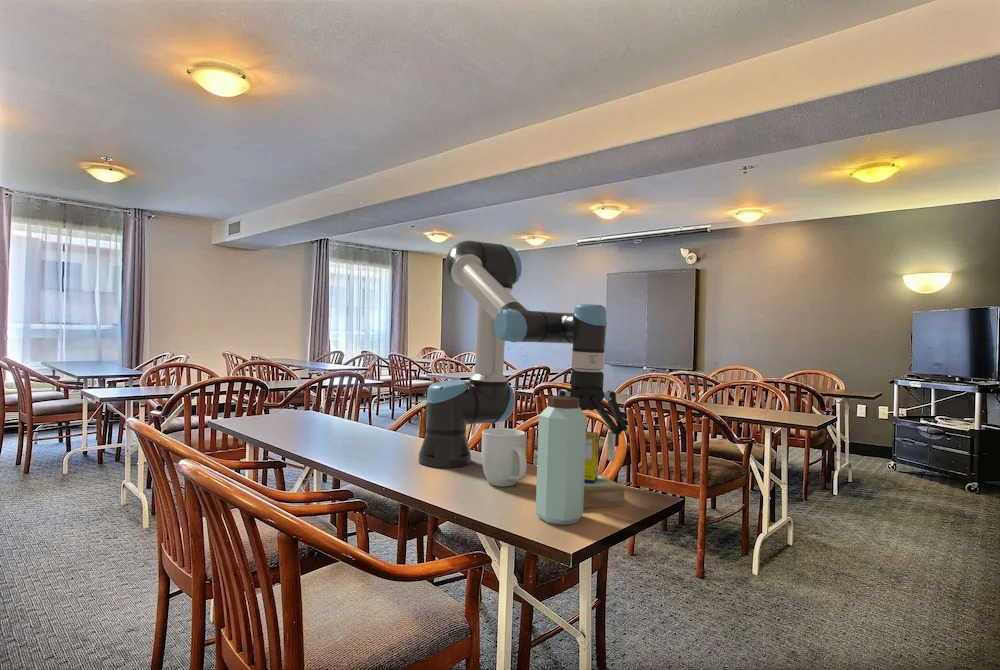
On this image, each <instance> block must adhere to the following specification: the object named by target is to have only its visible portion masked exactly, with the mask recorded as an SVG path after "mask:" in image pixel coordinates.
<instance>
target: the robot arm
mask: <svg viewBox="0 0 1000 670" xmlns="http://www.w3.org/2000/svg"><path fill="white" fill-rule="evenodd" d="M522 267H523V266H522V260H521V257H520V255H519V253H518V252H517V250H516V249H515V248H514V247H512V246H508V245H504V244H502V243H501V244H499V243H492V242H491V243H490V242H484V241H482V242H481V241H476V240H463V241H461V242H460V241H459V242H458V243H457V244H455V245H453V247H451V248H450V250H449V251H448V253H447V254H446V258H445V269H446V273H447V274H448V276H449V277H450V279H451V280H452V281H453V282H454V283H455V284H456V285H458V286H461V287H464V289H465V290H466V291H467V292H468V293H469V295H471V297H472V298H473V299H474V300H475V301H476V302H477V303H478V305H477V321H476V322H477V323H476V325H477V326H476V344H475V363H474V364H475V365H474V373H473V374H472V375H471V376H470V377H469V383H468V381H467V380H464V379H463V380H462V379H454V380H443V381H442V380H441V381H436V382H434V383H432V384H430V385H429V386H428V388H427V392H426V393H427V394H426V400H425V402H426V408H425V409H426V411H425V415H426V417H425V436H424V438H423V441H422V444H421V446H420V450H419V453H418V463H419V464H421V465H423V466H427V467H430V468H431V467H432V468H457V467H458V468H459V467H465V466H467V465H471V462H472V454H471V450H470V447H469V443H468V439H467V436H466V435H467V425H474V424H475V425H476V424H477V425H478V424H495V423H501V422H504V421H506V420H508V418H509V417H510V416H511V414H512V412H513V411H514V407H515V401H516V399H515V397H516V396H515V393H514V389H513V388H512V386H511V385H510V384H508V383H509V380H508V378H507V377H506V375H505V374H504V362H505V345H506V342H510V343H544V344H545V343H548V344H572V349H571V350H572V351H571V352H572V353H571V354H572V355H571V368H572V371H571V372H570V373H571V374H570V390H569V391H566V390H562V389H558V390H557V392H556V396H571V397H577V398H579V404H580V408H581V410H582V411H586V410H587V411H588V410H589V411H594V410H595V411H596V412H597V413H598V414H599V416H600V417H601V419H602V420H603V421H604V423H605V424H606V425H607V427H609V429H610V431H608V432H607V445H606V446H607V449H606V459H607V461H609V462H612V463H613V462H614V463H615V457H616V455H615V454H616V453H615V452H616V448H617V447H619V442H620V440H619V439H620V435H621V434H622V432H626V431H627V430H628V426H627V424H626V421H625V419H624V417H623V413H622V412H621V409H620V408H619V405H618V402H617V394H616V392H615V391H613V390H607V391H604V389H603V388H604V380H605V379H604V378H605V377H604V376H605V374H604V372H603V370H604V369H605V354H606V353H605V352H606V351H605V349H606V332H607V324H608V322H607V308H606V307H605V306H604V305H602V304H590V303H579V304H575V306H574V308H573V313H571V312H554V311H539V310H529V309H527V308H525V306H524V305H522V304H521V303H520V302H519V301H518V300H517V299H516V298H515V296H513V295H512V294H511V292H512V291H513V285H516V284H517V283H518V282H519V280H520V277H521V276H522ZM604 398H605V401H607V404H608V406H609V409H610V411H611V413H612V416H613V419H612V417H611V416H610V414H609V413H608V412H607V410H606V409H605V407H604V405H603V404H602V403H601V402H602V401H603V400H604ZM614 420H615V422H614Z"/></svg>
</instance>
